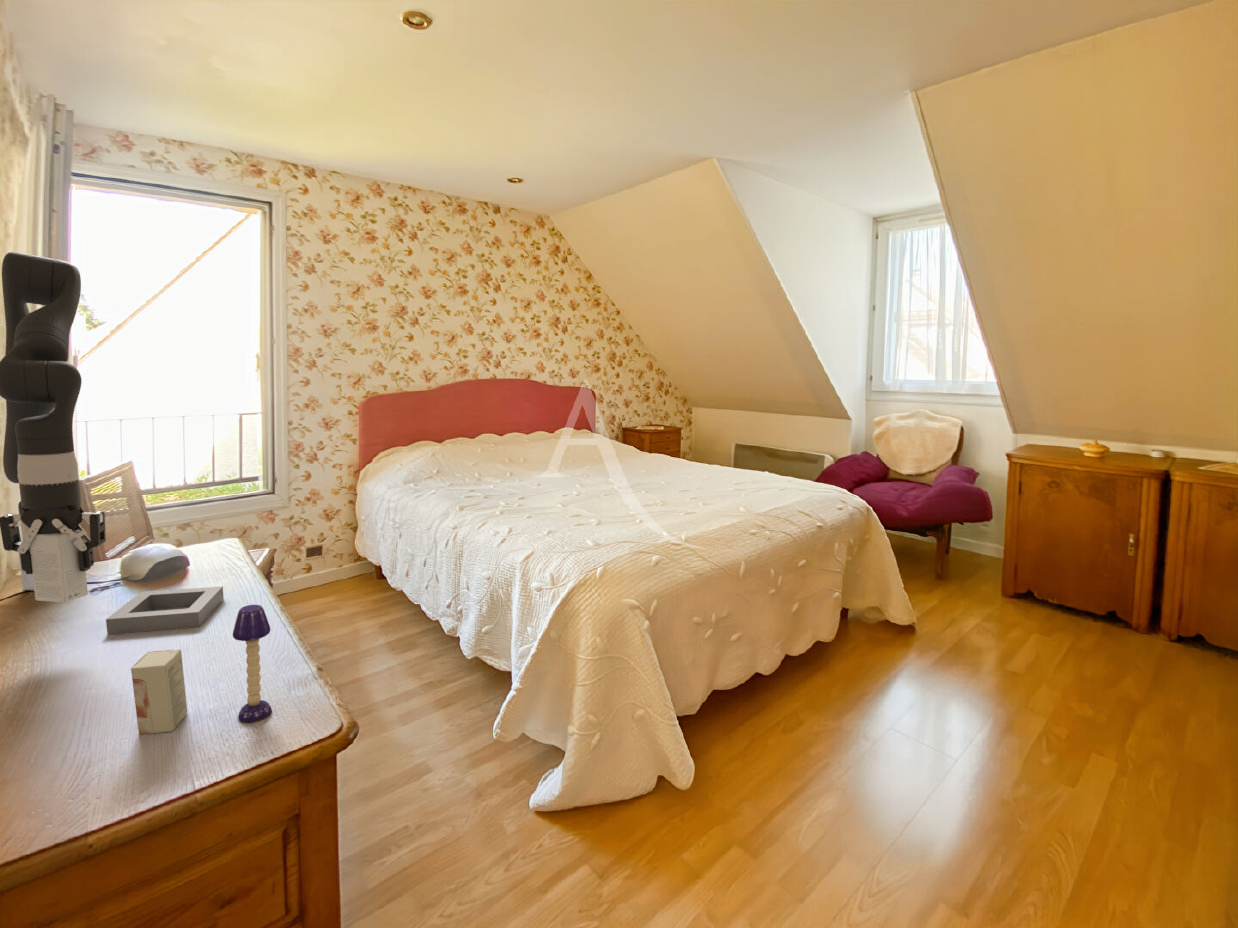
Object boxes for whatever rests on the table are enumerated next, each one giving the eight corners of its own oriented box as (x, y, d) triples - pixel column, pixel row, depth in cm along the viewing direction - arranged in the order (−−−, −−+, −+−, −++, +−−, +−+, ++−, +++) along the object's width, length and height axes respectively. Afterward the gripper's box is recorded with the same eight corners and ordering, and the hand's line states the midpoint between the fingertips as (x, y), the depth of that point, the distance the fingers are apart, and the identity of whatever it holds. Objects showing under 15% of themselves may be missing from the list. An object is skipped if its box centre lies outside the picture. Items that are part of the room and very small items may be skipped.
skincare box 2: (154, 715, 89) (148, 650, 87) (188, 712, 90) (183, 648, 88) (135, 736, 84) (128, 667, 82) (171, 732, 85) (165, 664, 83)
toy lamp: (281, 707, 92) (275, 601, 89) (264, 724, 87) (257, 614, 85) (248, 707, 92) (242, 601, 89) (230, 724, 87) (222, 613, 84)
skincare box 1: (89, 594, 109) (83, 530, 107) (65, 603, 105) (58, 536, 103) (58, 592, 109) (51, 527, 108) (33, 600, 105) (26, 533, 103)
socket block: (107, 634, 114) (105, 619, 114) (142, 605, 129) (141, 591, 128) (199, 626, 119) (198, 612, 119) (223, 599, 133) (222, 586, 133)
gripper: (110, 474, 109) (118, 562, 112) (10, 475, 105) (21, 567, 108) (88, 481, 102) (97, 576, 105) (-20, 483, 98) (-8, 581, 101)
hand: (59, 571), depth 106 cm, fingers closed on skincare box 1, 7 cm apart
